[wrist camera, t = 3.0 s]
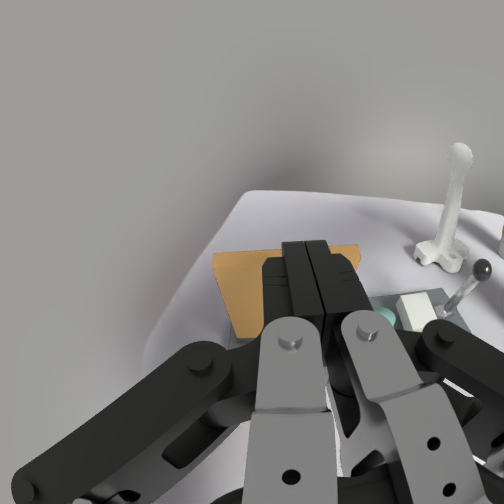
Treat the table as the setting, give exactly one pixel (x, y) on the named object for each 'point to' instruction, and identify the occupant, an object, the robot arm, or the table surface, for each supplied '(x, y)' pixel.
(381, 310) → the push button
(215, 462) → the table surface
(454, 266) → the joystick
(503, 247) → the coffee cup
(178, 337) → the table surface
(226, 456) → the table surface
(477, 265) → the toggle lever
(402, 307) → the block
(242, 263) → the tan flat slab
